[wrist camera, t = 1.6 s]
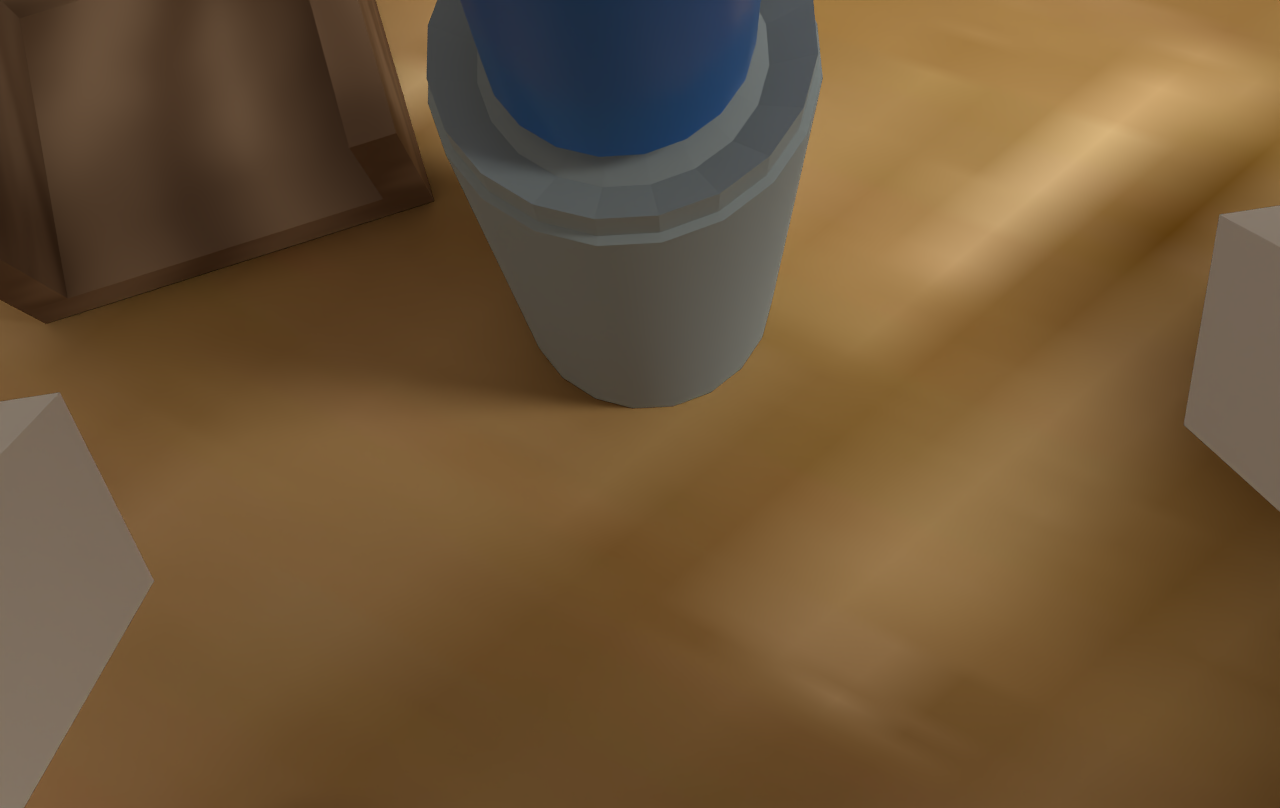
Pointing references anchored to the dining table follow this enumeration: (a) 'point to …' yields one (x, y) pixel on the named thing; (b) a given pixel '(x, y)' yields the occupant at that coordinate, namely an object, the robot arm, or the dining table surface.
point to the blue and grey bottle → (631, 173)
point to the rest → (188, 139)
